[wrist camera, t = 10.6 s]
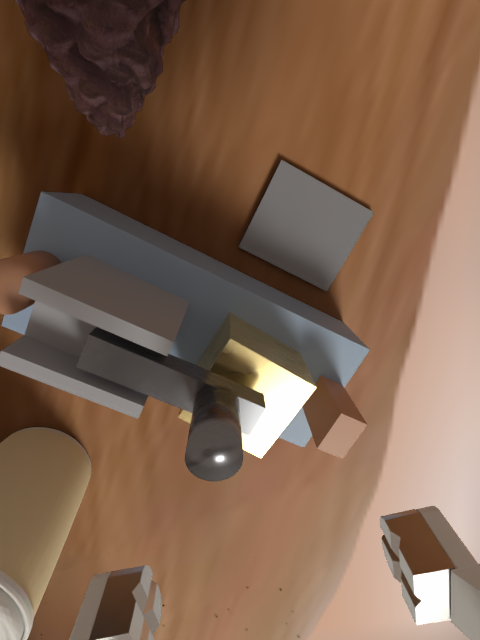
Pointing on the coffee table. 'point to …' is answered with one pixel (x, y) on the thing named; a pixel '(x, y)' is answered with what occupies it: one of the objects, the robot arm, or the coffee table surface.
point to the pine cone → (105, 52)
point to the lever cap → (259, 377)
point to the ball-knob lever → (183, 399)
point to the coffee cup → (35, 517)
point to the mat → (304, 226)
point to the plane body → (157, 312)
